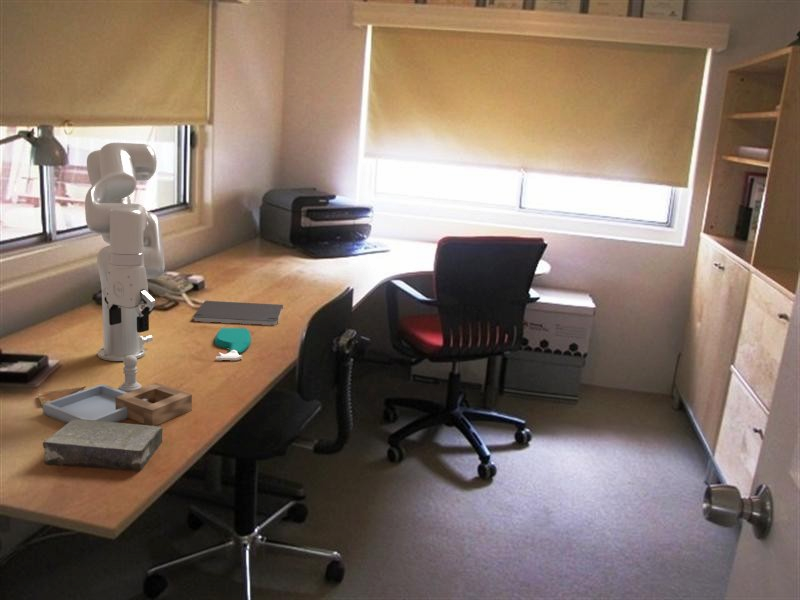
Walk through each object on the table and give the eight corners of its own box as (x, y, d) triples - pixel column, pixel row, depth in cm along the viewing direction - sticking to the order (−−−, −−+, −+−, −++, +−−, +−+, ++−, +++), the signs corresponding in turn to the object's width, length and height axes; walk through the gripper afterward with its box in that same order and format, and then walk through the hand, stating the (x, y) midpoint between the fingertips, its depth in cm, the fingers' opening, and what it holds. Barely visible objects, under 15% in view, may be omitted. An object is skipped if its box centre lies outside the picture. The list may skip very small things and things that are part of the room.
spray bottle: (251, 336, 230) (249, 364, 206) (216, 336, 227) (210, 363, 204) (251, 328, 229) (249, 354, 206) (216, 327, 227) (210, 354, 203)
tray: (102, 393, 177) (102, 383, 176) (148, 409, 169) (148, 399, 169) (43, 414, 163) (42, 403, 162) (90, 432, 156) (90, 422, 155)
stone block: (141, 473, 141) (141, 449, 140) (42, 466, 141) (41, 442, 140) (165, 443, 154) (164, 421, 153) (74, 436, 154) (73, 414, 153)
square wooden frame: (155, 397, 176) (155, 382, 175) (191, 410, 171) (191, 394, 170) (115, 413, 166) (115, 397, 165) (152, 426, 161) (152, 410, 160)
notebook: (282, 310, 263) (205, 306, 260) (283, 304, 262) (205, 300, 260) (276, 327, 242) (192, 323, 239) (277, 320, 241) (192, 316, 239)
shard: (86, 391, 178) (85, 385, 178) (92, 402, 172) (92, 396, 172) (37, 398, 172) (37, 391, 172) (42, 410, 166) (42, 403, 166)
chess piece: (141, 384, 184) (141, 351, 182) (141, 392, 179) (140, 358, 177) (119, 385, 182) (118, 352, 180) (118, 393, 177) (117, 359, 175)
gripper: (89, 256, 173) (92, 324, 177) (140, 266, 165) (141, 337, 169) (115, 252, 179) (117, 318, 183) (165, 262, 171) (166, 331, 175)
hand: (129, 327), depth 176 cm, fingers open, 9 cm apart
